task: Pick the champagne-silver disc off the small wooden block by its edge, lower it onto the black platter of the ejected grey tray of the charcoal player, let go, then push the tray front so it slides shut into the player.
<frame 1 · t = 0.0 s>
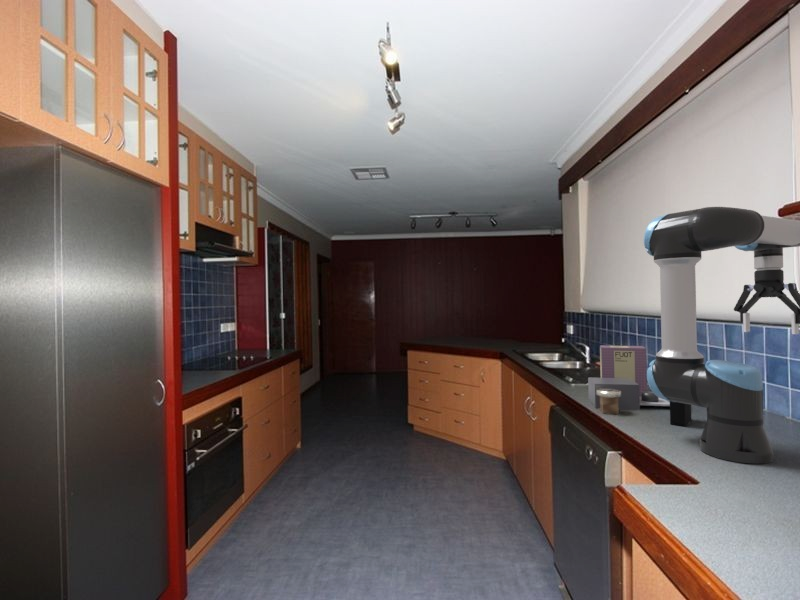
hand: (770, 333, 148), 28 cm above the counter, fingers open, 13 cm apart
electronic device: (681, 423, 143), on the counter
tray: (647, 395, 166), point 4 cm above the counter, slide at 10.0 cm
box: (623, 394, 188), on the counter
housing: (612, 404, 169), on the counter
wooden block: (609, 412, 158), on the counter
disc: (608, 395, 158), point 6 cm above the counter, touching wooden block
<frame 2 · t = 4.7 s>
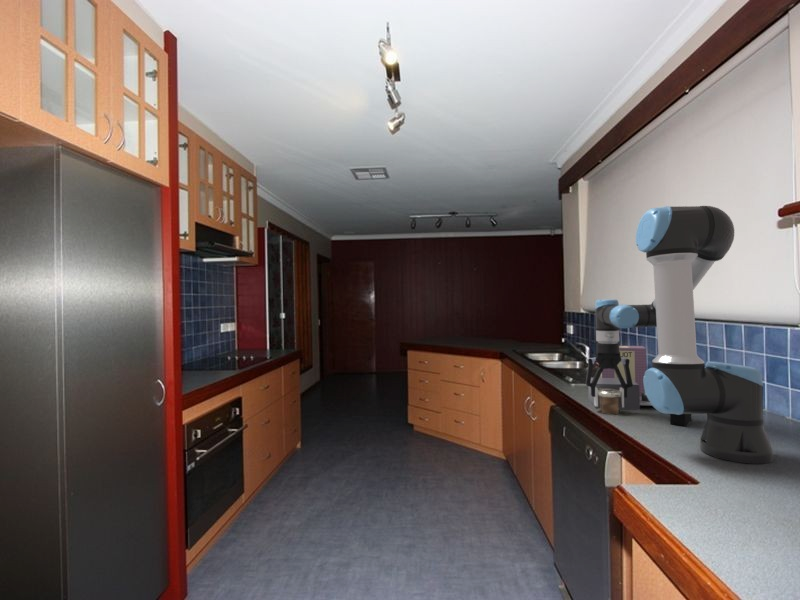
hand: (609, 406, 158), 2 cm above the counter, fingers closed on disc, 8 cm apart
disc: (608, 395, 158), point 6 cm above the counter, touching gripper, wooden block
everything else where it was.
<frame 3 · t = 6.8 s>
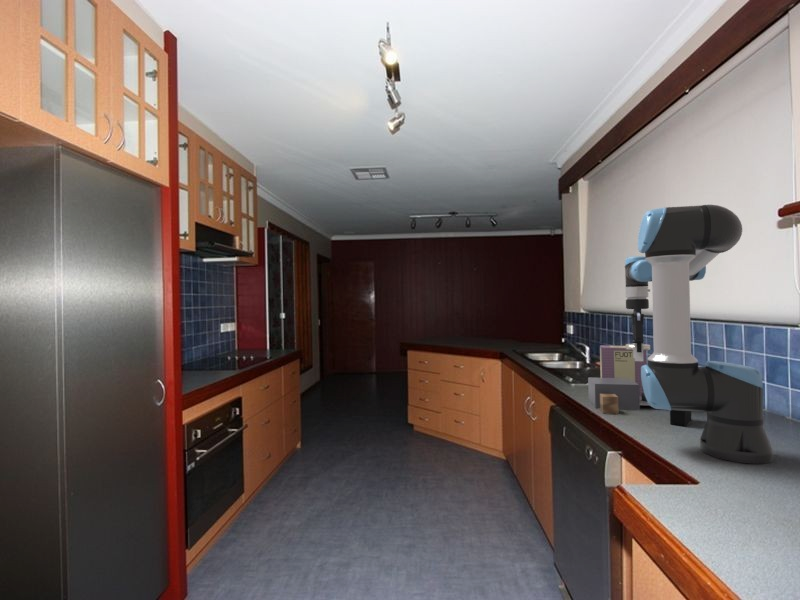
hand: (638, 359, 165), 18 cm above the counter, fingers closed on disc, 8 cm apart
disc: (637, 349, 165), point 22 cm above the counter, touching gripper
everything else where it was.
when the fingers open (3 cm above the counter, at t = 9.2 s): disc drops 2 cm, resting on tray.
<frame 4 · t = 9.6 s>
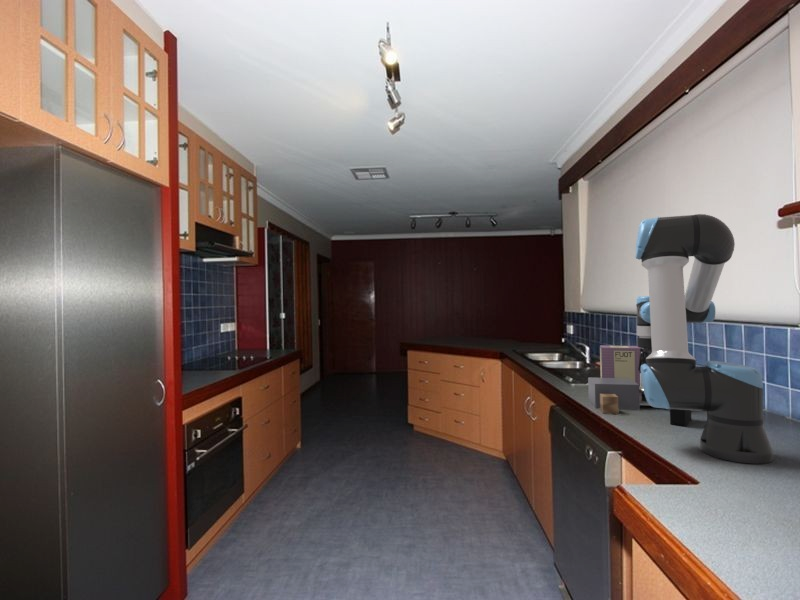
hand: (649, 393, 166), 4 cm above the counter, fingers open, 13 cm apart
tray: (647, 395, 166), point 4 cm above the counter, slide at 10.0 cm, touching disc
disc: (649, 392, 166), point 5 cm above the counter, touching tray
everything else where it was.
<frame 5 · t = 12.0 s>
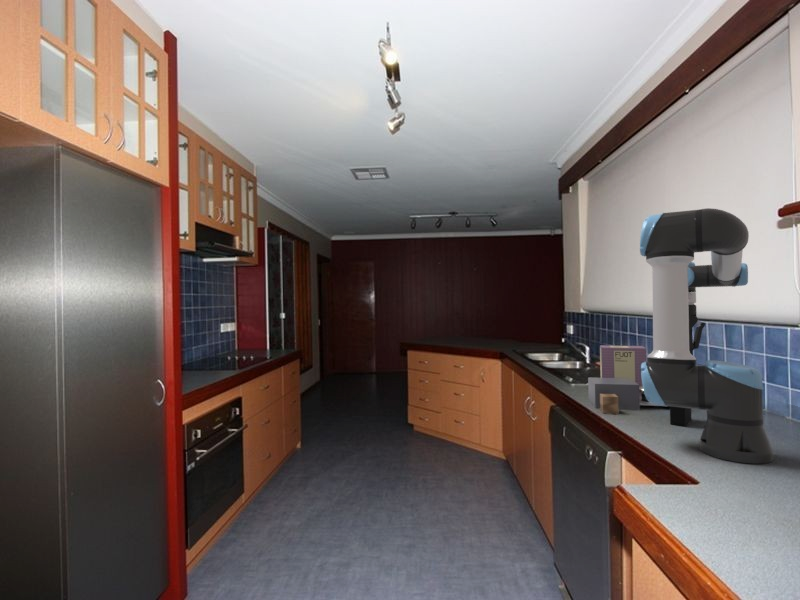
hand: (685, 367, 163), 14 cm above the counter, fingers closed
nothing on the counter moved.
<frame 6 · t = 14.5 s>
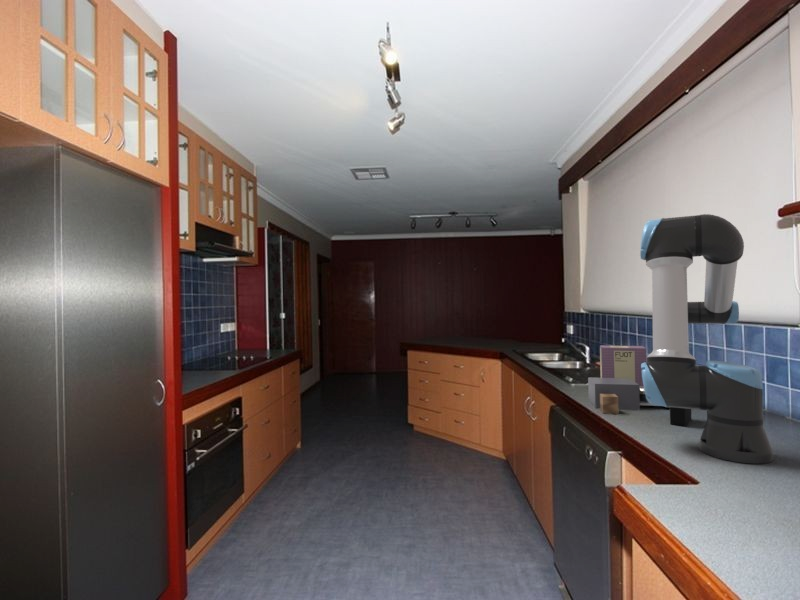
hand: (675, 401, 164), 2 cm above the counter, fingers closed
tray: (643, 395, 167), point 4 cm above the counter, slide at 8.7 cm, touching disc, gripper
disc: (646, 392, 166), point 5 cm above the counter, touching tray
everything else where it was.
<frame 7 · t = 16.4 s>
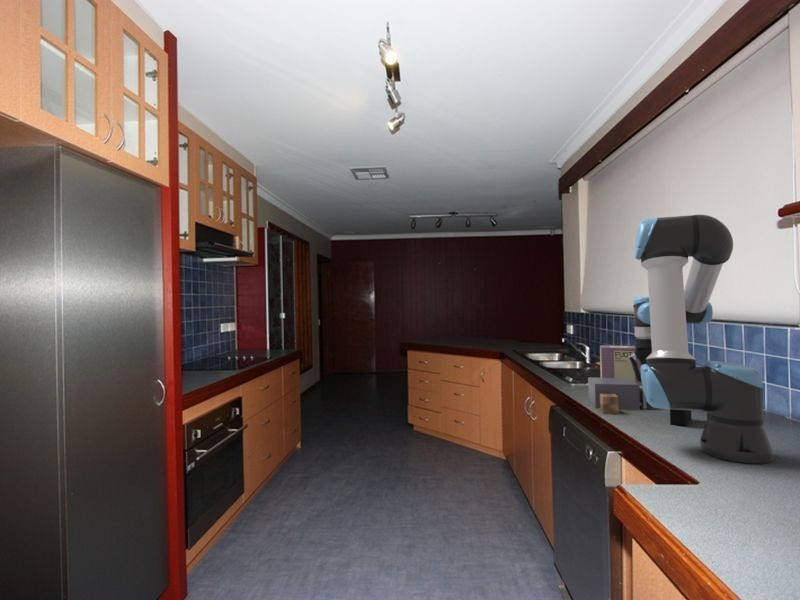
hand: (648, 400, 166), 2 cm above the counter, fingers closed
tray: (618, 394, 169), point 4 cm above the counter, slide at -0.2 cm, touching disc, gripper
disc: (620, 391, 169), point 5 cm above the counter, touching tray
everything else where it was.
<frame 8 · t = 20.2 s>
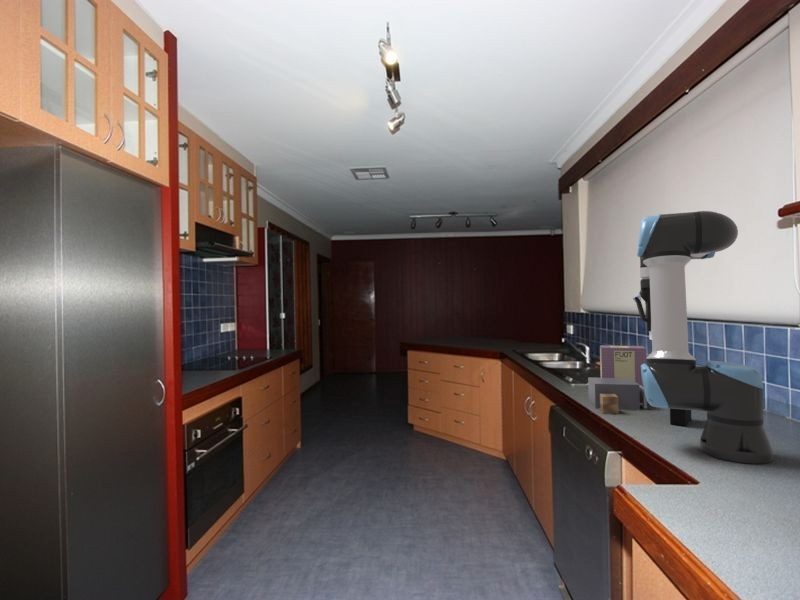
hand: (652, 339, 170), 24 cm above the counter, fingers closed
tray: (618, 394, 169), point 4 cm above the counter, slide at 0.0 cm, touching disc
everything else where it was.
at the end: tray slide at 0.0 cm; disc 2.8 cm from the housing (horizontally); disc point 4.9 cm above the counter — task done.
